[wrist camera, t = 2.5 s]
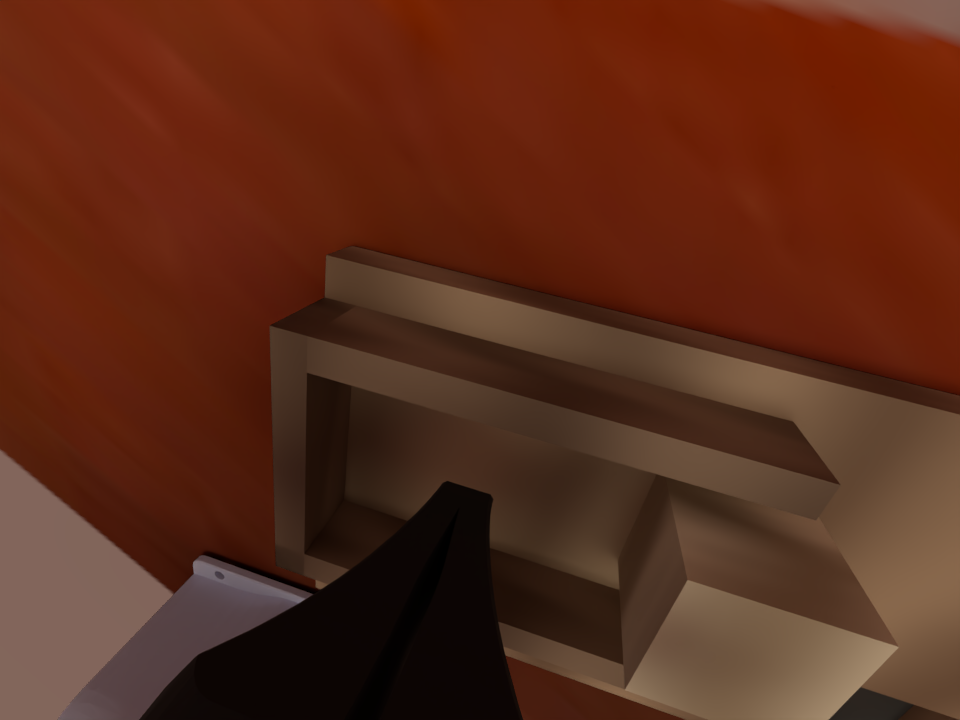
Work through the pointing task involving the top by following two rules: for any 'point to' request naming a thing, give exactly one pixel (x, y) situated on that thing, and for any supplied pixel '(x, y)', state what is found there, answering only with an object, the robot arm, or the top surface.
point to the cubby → (519, 409)
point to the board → (623, 489)
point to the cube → (742, 610)
